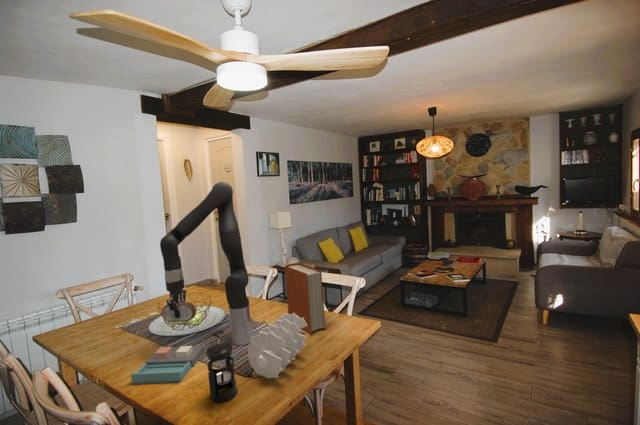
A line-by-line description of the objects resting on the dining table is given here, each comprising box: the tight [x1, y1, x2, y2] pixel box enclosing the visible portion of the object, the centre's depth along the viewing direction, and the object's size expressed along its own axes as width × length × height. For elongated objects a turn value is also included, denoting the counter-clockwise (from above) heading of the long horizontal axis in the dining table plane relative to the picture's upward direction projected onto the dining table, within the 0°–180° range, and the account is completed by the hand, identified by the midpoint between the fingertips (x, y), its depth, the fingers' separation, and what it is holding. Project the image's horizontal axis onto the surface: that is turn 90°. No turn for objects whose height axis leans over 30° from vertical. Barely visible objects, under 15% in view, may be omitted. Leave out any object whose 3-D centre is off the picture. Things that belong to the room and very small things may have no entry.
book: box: [284, 262, 326, 336], centre depth 169 cm, size 23×8×30 cm, turn 34°
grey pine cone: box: [246, 312, 308, 380], centre depth 134 cm, size 18×18×25 cm
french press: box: [205, 330, 238, 404], centre depth 117 cm, size 12×9×23 cm
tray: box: [130, 362, 193, 385], centre depth 133 cm, size 19×10×4 cm, turn 88°
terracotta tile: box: [154, 346, 173, 359], centre depth 143 cm, size 5×5×2 cm
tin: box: [161, 301, 197, 323], centre depth 150 cm, size 15×3×8 cm, turn 86°
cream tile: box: [175, 345, 193, 358], centre depth 143 cm, size 5×5×2 cm
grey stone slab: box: [144, 345, 205, 368], centre depth 144 cm, size 20×12×3 cm, turn 88°
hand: (179, 316), depth 150 cm, fingers closed on tin, 2 cm apart
